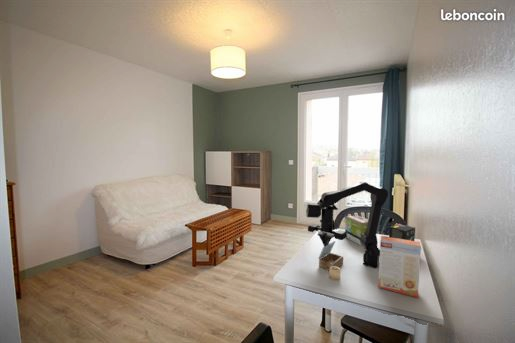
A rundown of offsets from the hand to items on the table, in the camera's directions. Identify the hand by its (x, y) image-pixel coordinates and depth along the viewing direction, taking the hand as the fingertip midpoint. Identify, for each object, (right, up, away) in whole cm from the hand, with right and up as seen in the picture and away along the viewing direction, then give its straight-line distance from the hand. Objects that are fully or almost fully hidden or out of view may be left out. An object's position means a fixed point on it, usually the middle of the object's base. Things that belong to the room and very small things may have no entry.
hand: (325, 247), depth 120 cm
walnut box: (+2, -8, -1) cm, 9 cm away
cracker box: (+23, -10, -22) cm, 34 cm away
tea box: (+30, -6, +32) cm, 45 cm away
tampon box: (+48, -8, +16) cm, 51 cm away
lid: (+1, -1, 0) cm, 1 cm away
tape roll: (0, -9, -13) cm, 16 cm away
